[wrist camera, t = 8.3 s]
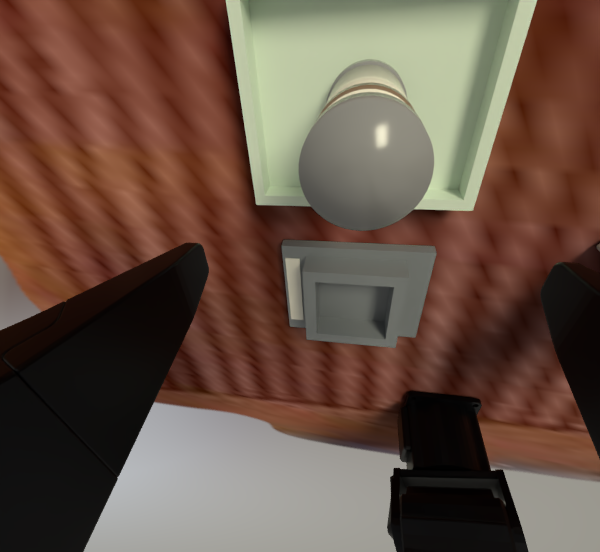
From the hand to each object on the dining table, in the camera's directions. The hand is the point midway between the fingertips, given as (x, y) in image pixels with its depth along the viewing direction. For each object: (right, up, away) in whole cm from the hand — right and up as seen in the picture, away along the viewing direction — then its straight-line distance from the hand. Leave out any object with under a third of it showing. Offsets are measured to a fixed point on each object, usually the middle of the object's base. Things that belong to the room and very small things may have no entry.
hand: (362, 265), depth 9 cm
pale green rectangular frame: (+2, +9, +8) cm, 12 cm away
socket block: (+2, -1, +16) cm, 16 cm away
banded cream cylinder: (+2, +8, +8) cm, 11 cm away
